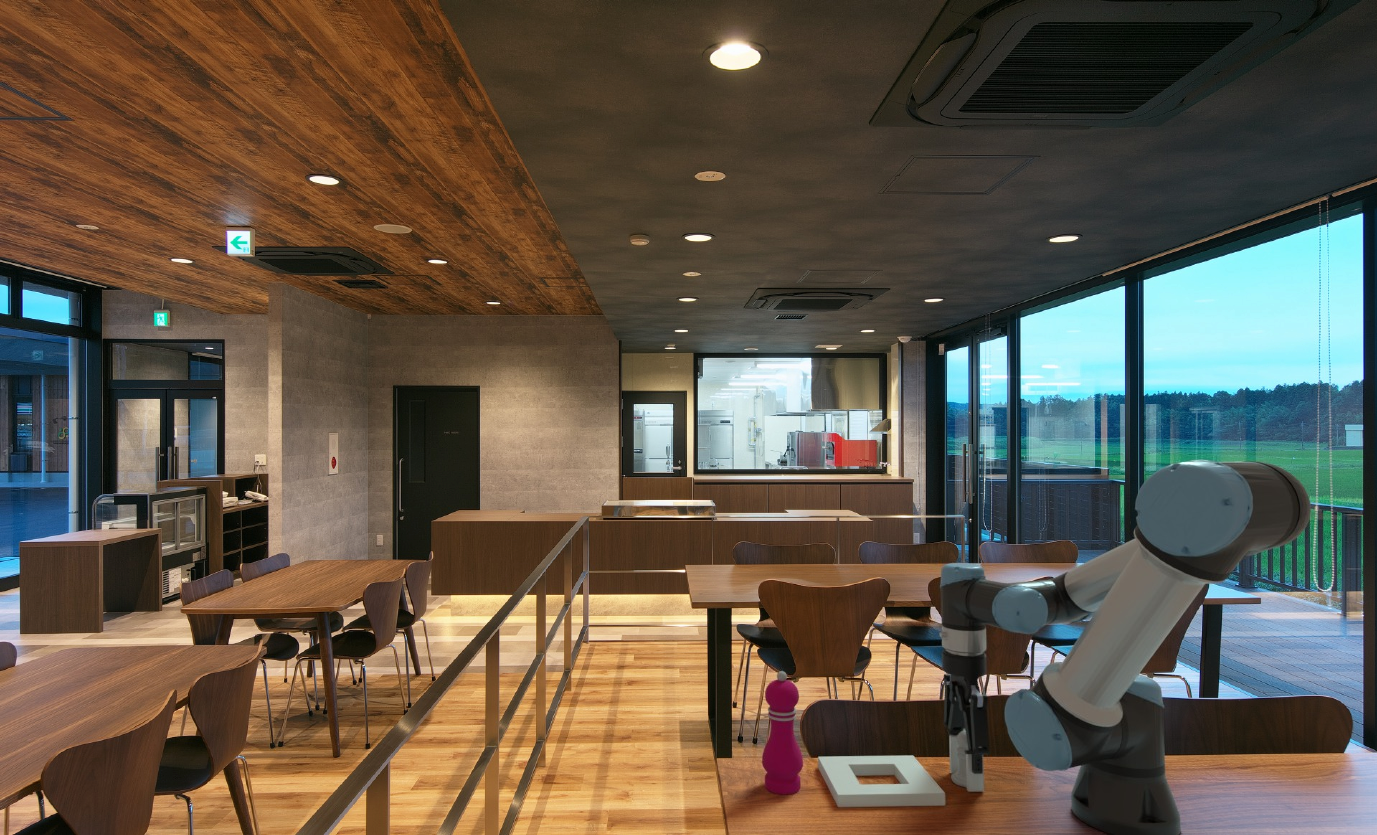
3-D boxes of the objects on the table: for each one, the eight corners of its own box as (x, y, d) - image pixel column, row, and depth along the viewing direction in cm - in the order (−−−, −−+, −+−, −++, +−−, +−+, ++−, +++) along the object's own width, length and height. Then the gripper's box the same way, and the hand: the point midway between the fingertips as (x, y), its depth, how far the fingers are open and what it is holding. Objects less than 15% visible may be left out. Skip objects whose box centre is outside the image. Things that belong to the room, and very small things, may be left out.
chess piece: (989, 784, 132) (988, 732, 133) (971, 791, 129) (969, 738, 130) (963, 773, 136) (962, 723, 137) (944, 781, 133) (943, 729, 134)
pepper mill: (802, 779, 134) (801, 666, 135) (804, 797, 127) (803, 677, 128) (762, 777, 135) (761, 665, 136) (762, 795, 128) (761, 676, 129)
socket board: (913, 766, 140) (912, 755, 140) (945, 805, 124) (945, 793, 124) (818, 767, 139) (818, 756, 139) (838, 807, 123) (838, 794, 123)
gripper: (924, 637, 144) (926, 759, 143) (965, 665, 124) (968, 807, 123) (962, 637, 144) (964, 758, 143) (1009, 665, 124) (1013, 806, 123)
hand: (966, 780), depth 133 cm, fingers open, 7 cm apart
